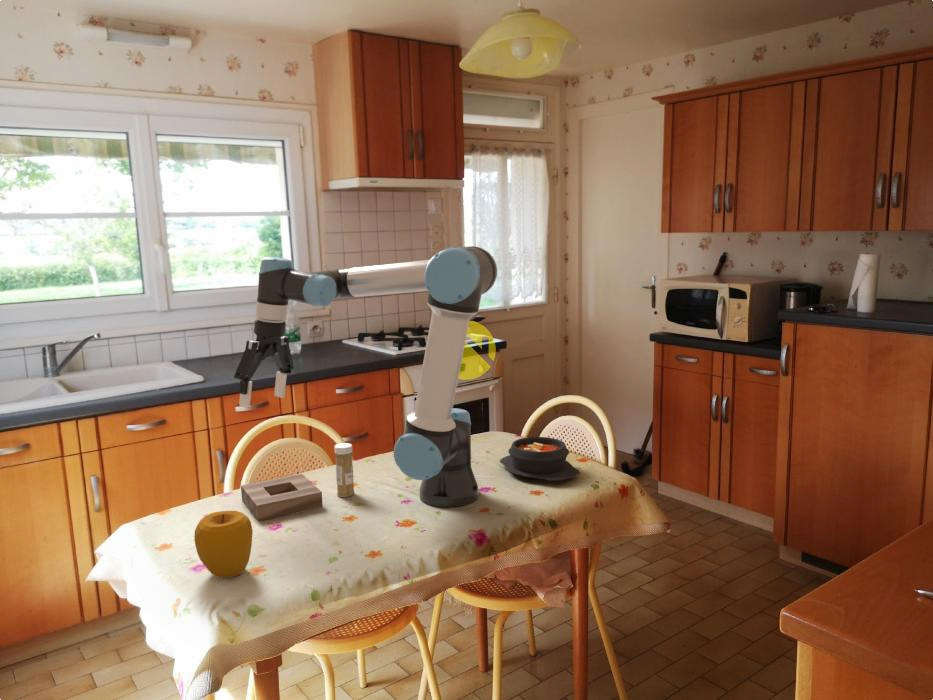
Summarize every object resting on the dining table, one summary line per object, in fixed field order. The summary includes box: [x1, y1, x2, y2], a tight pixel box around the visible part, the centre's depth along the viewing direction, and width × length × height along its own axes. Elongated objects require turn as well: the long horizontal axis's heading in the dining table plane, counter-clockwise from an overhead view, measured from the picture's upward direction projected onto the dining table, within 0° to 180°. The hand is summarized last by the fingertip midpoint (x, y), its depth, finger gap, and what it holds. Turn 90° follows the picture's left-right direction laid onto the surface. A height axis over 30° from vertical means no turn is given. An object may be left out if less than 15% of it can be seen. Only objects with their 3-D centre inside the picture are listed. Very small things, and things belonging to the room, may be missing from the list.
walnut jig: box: [240, 473, 324, 522], centre depth 177 cm, size 16×16×4 cm
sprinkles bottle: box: [334, 442, 355, 498], centre depth 182 cm, size 5×5×13 cm
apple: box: [193, 510, 253, 579], centre depth 140 cm, size 11×11×13 cm
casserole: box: [499, 436, 581, 482], centre depth 196 cm, size 25×19×8 cm
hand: (262, 401), depth 178 cm, fingers open, 13 cm apart
